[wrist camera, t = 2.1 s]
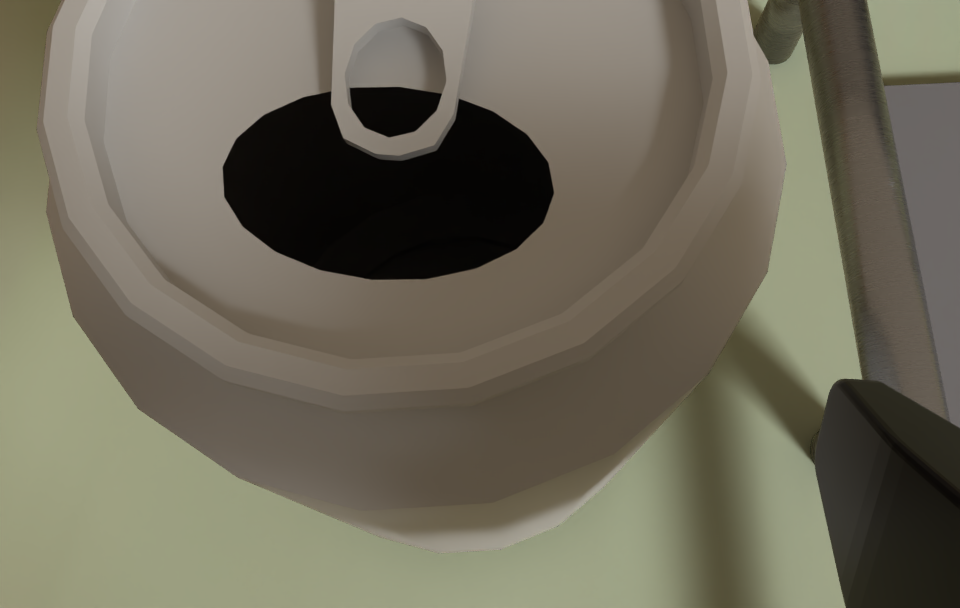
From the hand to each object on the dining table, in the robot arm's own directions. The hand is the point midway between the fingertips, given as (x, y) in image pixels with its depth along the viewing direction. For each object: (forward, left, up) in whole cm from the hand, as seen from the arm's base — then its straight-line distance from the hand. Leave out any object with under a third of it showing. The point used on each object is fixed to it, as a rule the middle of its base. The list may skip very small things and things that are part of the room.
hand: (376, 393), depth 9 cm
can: (+2, 0, -10) cm, 10 cm away
